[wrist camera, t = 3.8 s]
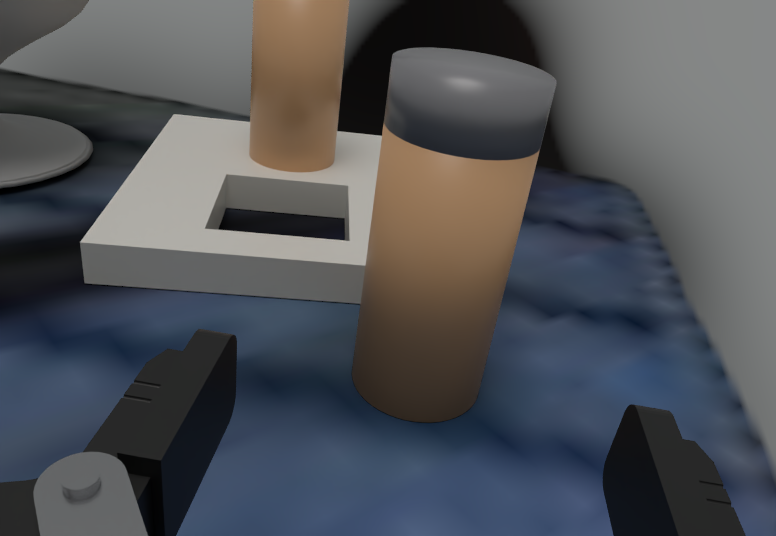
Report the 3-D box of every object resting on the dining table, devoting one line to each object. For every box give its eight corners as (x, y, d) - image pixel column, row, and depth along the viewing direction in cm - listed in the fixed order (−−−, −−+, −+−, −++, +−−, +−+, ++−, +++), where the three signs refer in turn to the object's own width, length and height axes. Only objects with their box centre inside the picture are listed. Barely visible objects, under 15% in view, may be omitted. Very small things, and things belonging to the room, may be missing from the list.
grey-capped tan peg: (352, 418, 23) (398, 78, 18) (350, 335, 28) (387, 40, 22) (489, 426, 24) (578, 99, 18) (467, 343, 28) (532, 58, 23)
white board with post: (84, 283, 29) (44, -81, 22) (174, 143, 44) (167, -94, 37) (447, 310, 30) (515, -17, 24) (411, 167, 46) (445, -55, 39)
